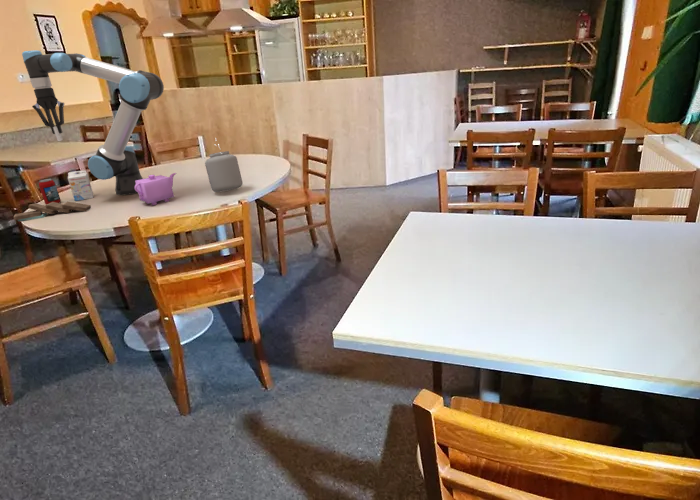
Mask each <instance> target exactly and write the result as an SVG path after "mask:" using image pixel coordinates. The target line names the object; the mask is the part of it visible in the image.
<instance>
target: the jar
mask: <svg viewBox="0 0 700 500" xmlns="http://www.w3.org/2000/svg"><path fill="white" fill-rule="evenodd" d="M214 138H215V142H216V141H217V138H216V137H214ZM217 145H218V148H219V149H221V148H220V144H219V143H218V144H217ZM217 145H216V144H214V146H217ZM204 162H205V163H204V164H205V169H206V173H207V178H208V181H209V186H210V189H211V191H213V192H214V193H221V192H227V191H230V190H235V189H236V190H237V189H238V188H241V187H242V186H243V185H244V184H243V179H242V175H241V170H240V166H239V161H238V157H237V156H236V155H234V154H230V151H229V150H225V151H220V152H215V153H210V154H209V158H207V159H206V160H205V161H204Z"/></svg>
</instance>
